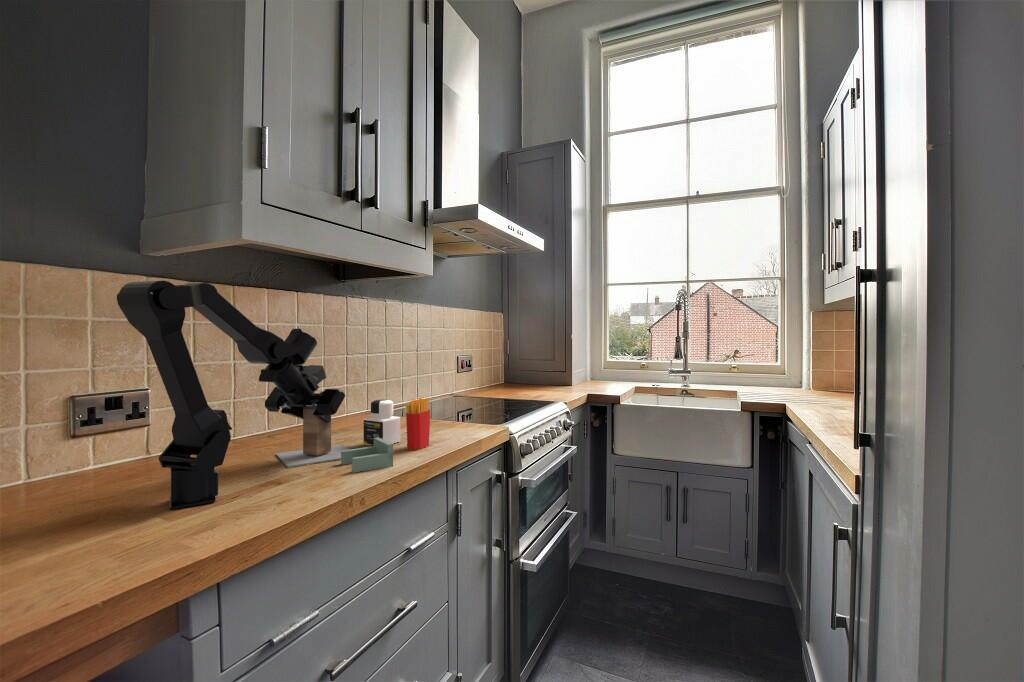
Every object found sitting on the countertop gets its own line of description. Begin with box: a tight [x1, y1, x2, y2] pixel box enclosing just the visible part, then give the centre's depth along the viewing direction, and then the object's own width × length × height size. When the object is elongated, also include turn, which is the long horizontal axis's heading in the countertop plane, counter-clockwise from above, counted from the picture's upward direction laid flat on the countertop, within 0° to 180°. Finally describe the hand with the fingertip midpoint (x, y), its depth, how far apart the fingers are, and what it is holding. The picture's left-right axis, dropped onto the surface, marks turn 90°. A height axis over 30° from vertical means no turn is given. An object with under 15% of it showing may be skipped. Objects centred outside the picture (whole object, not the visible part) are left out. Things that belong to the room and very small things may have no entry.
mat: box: [275, 444, 351, 469], centre depth 113 cm, size 16×14×1 cm
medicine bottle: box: [363, 399, 401, 446], centre depth 127 cm, size 7×7×12 cm
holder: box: [340, 437, 394, 474], centre depth 105 cm, size 9×9×5 cm
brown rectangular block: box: [302, 403, 332, 456], centre depth 113 cm, size 4×4×13 cm
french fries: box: [405, 397, 431, 451], centre depth 123 cm, size 9×4×13 cm, turn 160°
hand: (321, 420), depth 114 cm, fingers closed on brown rectangular block, 5 cm apart
